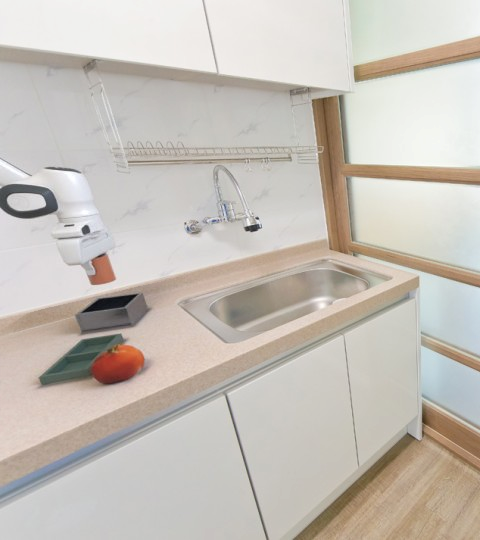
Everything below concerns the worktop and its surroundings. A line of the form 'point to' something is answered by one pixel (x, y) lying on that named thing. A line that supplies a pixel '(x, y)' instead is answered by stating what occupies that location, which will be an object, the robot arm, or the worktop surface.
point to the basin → (112, 313)
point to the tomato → (117, 364)
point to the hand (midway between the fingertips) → (99, 270)
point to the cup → (102, 270)
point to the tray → (79, 359)
